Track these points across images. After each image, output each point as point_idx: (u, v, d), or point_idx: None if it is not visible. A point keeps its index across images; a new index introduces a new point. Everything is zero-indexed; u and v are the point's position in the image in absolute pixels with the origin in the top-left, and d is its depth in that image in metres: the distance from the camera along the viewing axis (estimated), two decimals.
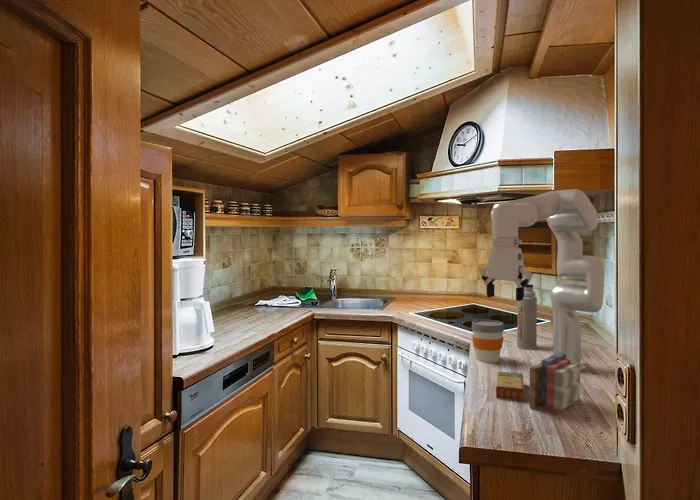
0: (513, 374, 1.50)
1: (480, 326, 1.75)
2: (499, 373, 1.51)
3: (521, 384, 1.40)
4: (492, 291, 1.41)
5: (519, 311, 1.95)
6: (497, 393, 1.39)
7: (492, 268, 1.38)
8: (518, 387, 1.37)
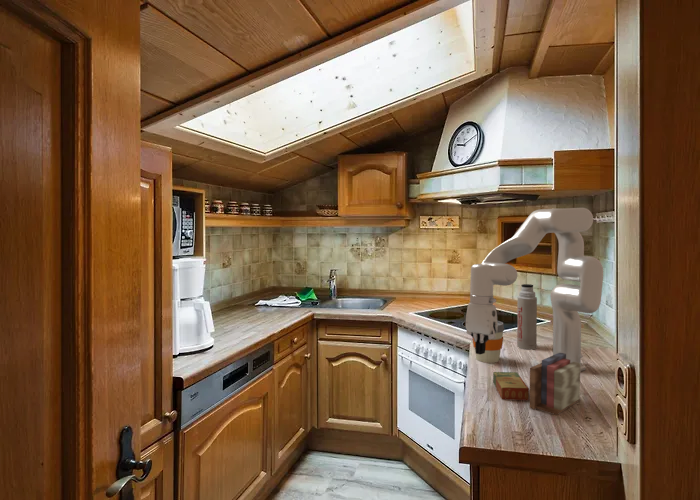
0: (509, 373, 1.50)
1: None
2: (496, 373, 1.51)
3: (524, 383, 1.40)
4: None
5: (519, 311, 1.95)
6: (503, 394, 1.38)
7: (469, 322, 1.53)
8: (523, 387, 1.37)
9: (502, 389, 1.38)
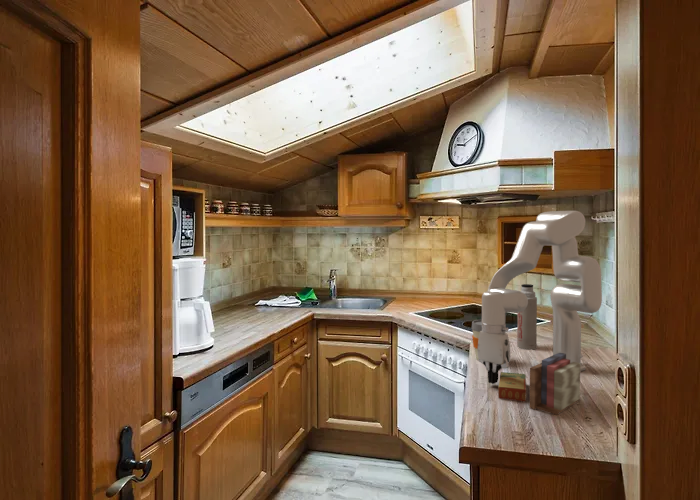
0: (516, 374, 1.49)
1: (480, 326, 1.75)
2: (502, 374, 1.51)
3: (524, 385, 1.39)
4: None
5: None
6: (499, 394, 1.38)
7: (481, 350, 1.50)
8: (520, 388, 1.37)
9: (499, 388, 1.39)
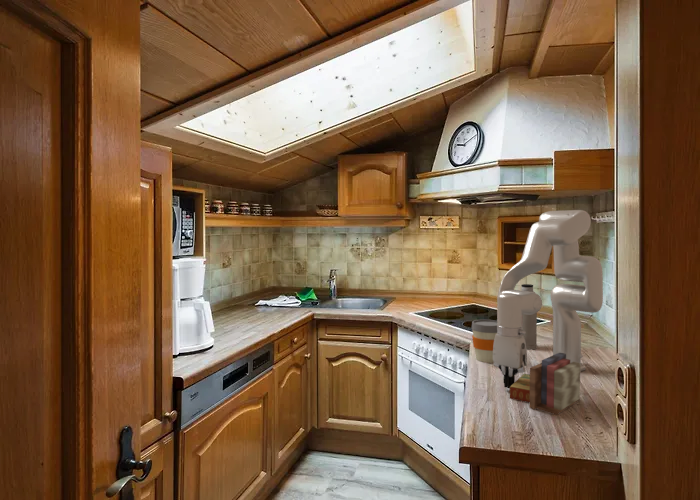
0: None
1: (480, 326, 1.75)
2: (523, 375, 1.49)
3: None
4: None
5: None
6: (510, 393, 1.38)
7: (497, 354, 1.46)
8: None
9: (510, 388, 1.38)
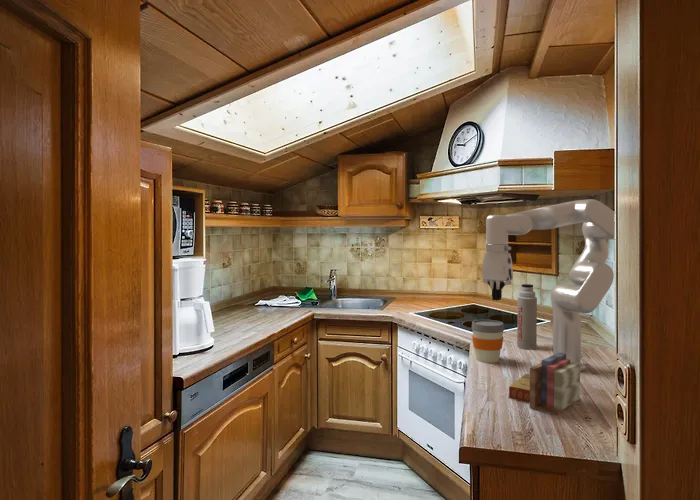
0: None
1: (480, 326, 1.75)
2: (525, 375, 1.49)
3: None
4: None
5: (519, 311, 1.95)
6: (510, 393, 1.39)
7: (486, 270, 1.61)
8: None
9: (509, 388, 1.39)
